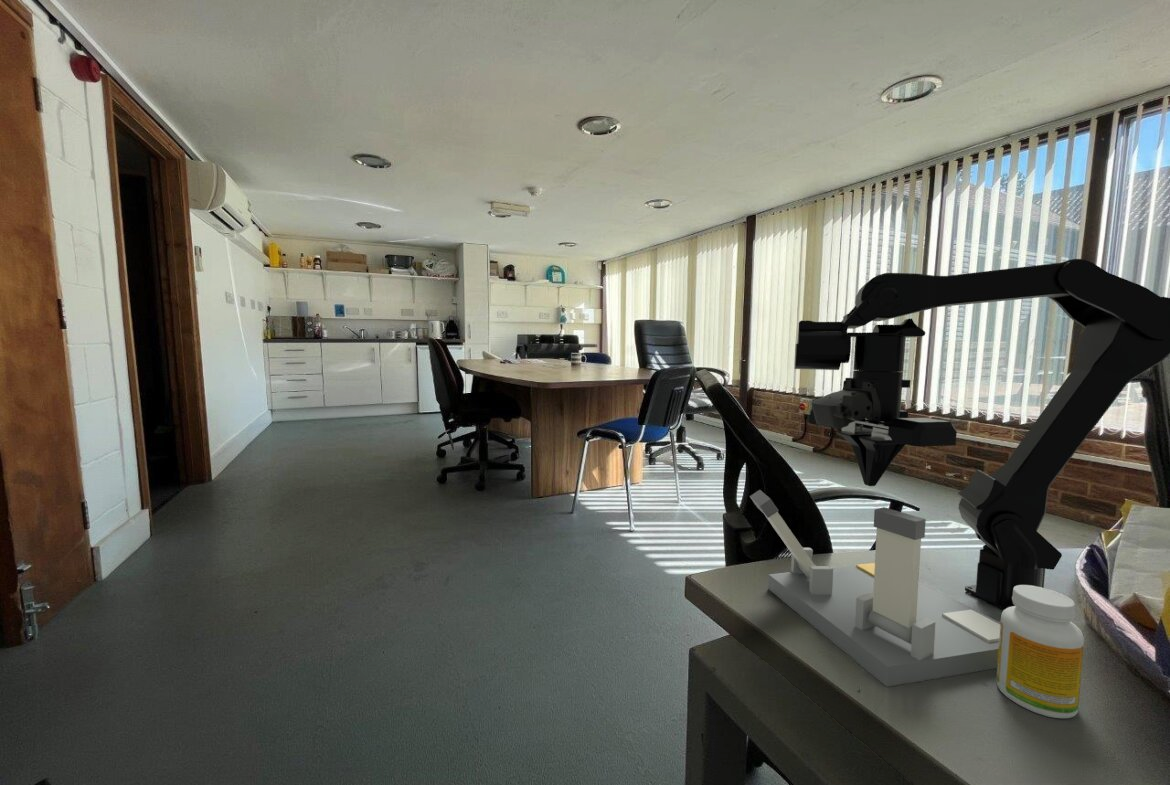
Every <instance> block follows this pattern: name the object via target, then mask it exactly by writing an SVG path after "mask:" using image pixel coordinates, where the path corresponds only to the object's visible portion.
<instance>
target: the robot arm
mask: <svg viewBox="0 0 1170 785" xmlns="http://www.w3.org/2000/svg"><path fill="white" fill-rule="evenodd" d="M1036 298H1037V299H1038V298H1049V299H1050V300H1051V301H1054V303H1056V304H1057V305H1058V307H1059V308H1060V309H1061V310H1062V311H1063V312H1064V313H1065V314H1066V315H1067V316H1068V318H1070V319H1071V320H1072V321H1073V322H1074V323H1077V324H1078V325H1079V326H1081V327H1083V328H1084V329H1083V331H1082V334H1081V336H1080V338H1079V340H1078V342H1077V349H1076V356H1075V357H1076V358H1075V365H1074V367H1073V369H1072V371H1071V372H1070V373H1069V375H1067V378H1065V379H1064V381H1063V383H1062V384H1061V386H1059V389H1058V390H1057V391H1056V393H1055V394H1054V395H1053V397H1052V398H1051V399H1050V401H1049V402H1048V403H1047V405H1046V406H1045V408H1044V409H1043V411H1042V412H1040V415H1039V416H1038V417H1037V419H1036V420H1035V422H1034V423H1033V424H1032V426H1031V427H1030V428H1029V429H1028V431H1027V433H1026V434H1025V435H1024V437H1023V438H1022V440H1021V441H1020V442H1019V444H1018V445H1017V446H1016V448H1015V449H1014V451H1013V452H1012V453H1011V455H1010V456H1009V458H1007V460H1006V462H1005V463H1004V464H1003V465H1002V466H1001V467H999V468H997V469H996V470H994V471H992V472H991V473H990V474H986V472H983V471H981V470H980V469H976V470H975V471H974V472H973V473H972V476H971V478H970V480H969V482H968V484H967V485H966V486H964V488H963V489H962V490H960V491H958V493H957V495H959V497H961V498H960V501H959V503H958V510H959V513H960V517H961V519H962V520H963V522H965V523H966V525H968V526H969V527H970V528H971V529H972V530H973V531H974V532H975V535H976V538H977V539H978V540H980V541H981V542H982V543H983V544H984V545H983V546H982V548H981V549H979V555H978V556H979V560H978V562H977V568H976V569H977V570H976V579H975V580H976V581H975V582H976V583H975V584H970V585H965V586H964V590H965V592H968V593H970V594H971V595H974V596H975V597H978V598H979V599H982V600H984V601H985V602H988V603H990V604H991V605H994V606H996V607H998V608H1000V609H1002V610H1003V611H1004V610H1005V609H1006V608H1008V607H1012V606H1015V605H1014V604H1013V601H1012V596H1013V588H1014V587H1015V586H1017V585H1031V586H1037V587H1042V588H1045V575H1046V570H1054V569H1055V568H1056V567H1057V564H1058V563H1059V562H1060V560H1061V558H1062V557H1063V554H1062V552H1061V551H1059V550H1058V549H1057V548H1056V547H1055V546H1053V544H1052V543H1051V542H1049V541H1048V540H1047V539H1046V538H1045V537H1044V536H1043V535H1041V533H1039V531H1038V530H1039V528H1040V525H1041V524H1042V522H1043V519H1044V517H1045V515H1046V512H1047V511H1046V510H1047V504H1048V495H1049V489H1050V487H1051V485H1052V484H1053V483H1054V481H1055V480H1056V479H1057V477H1058V476H1059V474H1060V473H1061V472H1062V470H1063V469H1064V467H1066V465H1067V464H1068V463H1069V461H1070V460H1071V458H1072V457H1073V456H1074V455H1075V453H1076V452H1077V451H1078V449H1079V448H1080V447H1081V446H1082V444H1083V443H1084V441H1085V440H1086V439H1087V438H1088V436H1089V435H1090V433H1091V432H1092V431H1093V430H1094V428H1095V427H1096V426H1097V424H1098V423H1099V422H1100V420H1101V419H1102V418H1103V416H1104V415H1105V414H1106V412H1107V411H1108V410H1109V409H1110V407H1111V406H1112V405H1113V404H1114V402H1115V400H1116V399H1117V398H1118V397H1119V395H1120V394H1121V393H1122V391H1124V389H1125V388H1126V386H1127V385H1128V383H1130V382H1131V381H1132V380H1134V379H1135V378H1137V377H1139V376H1141V375H1142V374H1144V373H1146V372H1147V371H1148V370H1151V369H1152V368H1153V367H1155V366H1157V365H1158V364H1160V363H1161V362H1163V361H1164V360H1166V358H1167V357H1169V356H1170V297H1166V296H1160V295H1158V294H1157V293H1155V292H1154V291H1152V290H1150V289H1149V288H1147V287H1145V286H1143V285H1141V284H1138V283H1135V282H1133V281H1132V280H1127V278H1123V277H1120V276H1118V275H1115V274H1113V273H1110V272H1108V271H1106V270H1105V269H1103V268H1102V267H1100V266H1098V265H1097V264H1095V263H1094V262H1092V261H1090V260H1087V259H1083V258H1072V259H1068V260H1065V261H1061V262H1056V263H1048V264H1047V263H1046V264H1039V265H1038V264H1037V265H1030V266H1028V265H1027V266H1021V267H1012V268H1003V269H994V270H987V271H986V270H985V271H977V272H969V273H961V274H954V275H953V274H951V275H933V274H932V275H931V274H924V273H923V274H922V273H913V272H912V273H911V272H910V273H909V272H908V273H906V272H904V273H903V272H885V273H881V274H878V275H875V276H874V277H872V278H871V279H870V280H869V281H867V282H866V283H865V284H864V285H862V286H861V287H860V289H858V292H857V293H856V295H855V301H854V302H855V306H854V307H853V308H852V309H851V310H850V311H849V312H848V313H847V314H845V315H843V317H842V320H841V321H814V320H799V322H798V329H797V341H796V344H795V347H794V348H795V350H794V351H795V352H794V353H795V354H794V369H795V370H816V371H817V370H820V371H824V370H826V371H839V370H840V368H841V364H849V362H850V358H851V351H852V338H855V340H854V352H853V353H854V355H853V367H852V368H853V369H852V370H853V371H852V377H845V379H844V380H843V384H842V389H841V390H837V391H834V392H831V393H829V394H826V395H824V396H822V397H819V398H817V399H814V400H812V401H811V402H810V404H811V407H812V409H811V410H810V414H809V416H810V417H809V423H810V424H812V425H813V424H814V425H816V426H817V425H818V426H822V427H823V426H829V427H830V428H832V429H841V430H838V431H837V430H836V433H837V435H839V436H841V437H842V438H843V439H845V440H846V442H848V443H849V444H850V446H851V448H852V450H853V453H854V454H855V458H856V461H857V462H856V463H857V465H858V468H859V471H860V476H861V477H862V481H863V484H864V486H868V487H875V486H877V484H878V482H879V481H880V480H881V478H882V476H883V475H884V473H885V472H886V470H887V469H888V468H889V466H890V465H891V464H892V462H893V460H894V459H895V458H896V457H897V455H899V453H900V452H901V451H902V449H903V448H904V447H905V446H906V445H907V446H911V447H945V446H948V447H949V446H956V444H957V434H958V433H957V428H956V427H955V425H954V424H953V423H952V422H951V421H948V420H943V419H935V418H931V417H930V418H929V417H909V411H908V410H903V409H901V406H902V394H903V389H904V388H905V389H906V388H908V389H909V388H911V381H912V380H911V379H904V365H905V353H906V352H905V351H906V338H920V337H925V335H926V331H925V330H924V329H922V328H921V327H919V326H918V325H917V324H916V323H915V321H914V319H913V318H907V319H904V321H902V322H901V323H900V324H875V325H874V326H873V329H872V332H871V331H869V332H848V330H849V329H850V330H851V329H854V330H855V329H858V328H860V327H864V326H866V325H867V324H869V323H871V322H883V321H887V320H888V321H889V320H891V319H896V318H899V317H904V316H908V315H911V314H916V313H919V312H924V311H928V310H932V309H936V308H942V307H954V306H962V305H963V306H964V305H972V304H973V305H974V304H985V303H994V302H1005V301H1015V300H1028V299H1036Z"/></svg>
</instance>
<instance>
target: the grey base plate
mask: <svg viewBox="0 0 1170 785" xmlns="http://www.w3.org/2000/svg"><path fill="white" fill-rule="evenodd" d="M802 548H803V549H804V550H805V552H806V553H807V555H808V556H809V558H810V559H811V560H812V561H813V553H814V550H813V549H812V548H811V547H802ZM797 563H798V562H797V560H796V559H795V558H794V556H793V555H792V554H791V564H790V565H791V566H790V567H791V568H790V571H789V572H788V571H787V572H779V573H771V574H770V573H769V574H768V590H769V591H770V592H771V593H773V595H775V596H776V597H778V599H780V600H781V602H784V603H785V604H786V605H787V606H788V607H789V608H791V609H792V610H793V611H795V612H796V613H797V614H798V615H800V617H801V618H803V619H804V620H806V622H808V624H810V625H811V626H813V628H815V629H816V630H818V631H819V633H821V634H822V635H824V637H826V638H827V639H828V640H830V642H832V643H833V644H834V645H835V646H836V647H838V648H839V650H841V651H842V652H843V653H845V654H846V655H848V656H849V657H850V658H851V659H852V660H853V661H855V663H857V664H859V666H861V667H862V668H863V669H864V670H866V671H867V672H868V673H869V674H870V675H872V676H873V677H874V678H875V679H876V680H877V681H879V682H880V683H881V684H882V685H884V686H885V687H887V688H888V687H893V686H900V685H905V684H906V685H907V684H911V683H916V682H924V681H929V680H934V679H939V678H941V679H942V678H945V677H947V678H948V677H951V676H959V675H964V674H965V675H966V674H971V673H974V672H981V671H989V670H994V669H997V662H998V650H999V637H1000V622H1001V621H999V620H996V619H994V618H992V617H991V616H988V615H986V614H984V613H983V612H982V611H979V610H977V609H975V608H973V607H971V606H969V605H967V604H966V603H964V602H961V601H960V600H958V599H956V598H954V597H952V596H950V595H948V594H946V593H945V592H943V591H942V590H938V589H936V588H935V587H933V586H931V585H929V584H928V583H925V582H924V581H921V580H920V579H919V583H918V600H917V617H916V623H914V624H912V640H911V644H909V643H907V642H905V641H903V640H902V639H900V638H898V637H896V636H894V635H892V634H890V633H888V632H886V631H884V630H882V629H880V628H878V627H876V626H874V625H872V624H870V623H869V619H868V617H869V613H870V611H871V610H872V609H873V591H874V571H875V562H871V563H862V564H861V563H860V564H855V565H854V564H853V565H844V566H835V567H834V566H833V567H832V566H828V565H826V566H825V565H824V566H823V565H816V566H810V579H809V578H808V577H807V576H806V575H805V574H804V573H803V572H802V571H801V570H800V569H799V567H798V565H797Z"/></svg>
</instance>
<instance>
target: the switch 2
mask: <svg viewBox="0 0 1170 785" xmlns="http://www.w3.org/2000/svg"><path fill="white" fill-rule="evenodd" d="M873 511H874V513H873V514H874V515H873V527H874V528H875V529H876V535H875V554H874V555H875V556H874V557H875V558H874V563H875V571H874V591H873V609H872V610H871V611H870V613H869V617H868V619H869V623H870V624H872V625H874V626H876V627H878V628H880V629H882V630H884V631H886V632H888V633H890V634H892V635H894V636H896V637H898V638H900V639H902V640H903V641H905V642H907V643H909V644H911V640H912V624H914V623H916V617H917V600H918V583H919V580H920V578H919V577H920V563H921V561H920V560H921V546H922V539H923V538H925V537H926V534H925V533H926V521H927V520H926V518H924V517H923V518H922V517H919V516H915V515H913V514H908V513H906V512H902V511H899V510H894V509H891V508H887V507H880V508H879V507H878V508H876V509H874V510H873Z"/></svg>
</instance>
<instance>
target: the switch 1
mask: <svg viewBox="0 0 1170 785" xmlns="http://www.w3.org/2000/svg"><path fill="white" fill-rule="evenodd" d="M749 498H750V499H751V500H752V502H753V504H754V506H756V508H757V509H758V510H759V511H760V512H761V513H762V514H763V515H764V516H765V518H766V519H767V521H768V522H769V523H770V525H771V526H772V528H773V529H774V531H775V532H776V533H777V535H778V536H779V537H780V539H781V540H782V542H783V543H784V545H785V546H786V547H787V549H788V550H789V553H790V554H791V556H792V555H793V556H794V558H795V559H796V560H797V562H798V563H797V565H798V567H799V569H800V570H801V571H802V572H803V573H804V574H805V575H806V576H807V577H808V578H809V579H810V566H817V565H816V564H815V563H814V562H813V559H812V560H811V559H810V558H809V556H808V555H807V553H806V552H805V550H804V549H803V548H804V547H803V546H802V545H801V543H800V542H799V541H798V539H797V538H796V536H795V535H794V533H793V532H792V530H791V529H790V527H789V526H788V525H787V523H786V521H785V520H784V519H783V517H782V516H781V515H780V513H779V509H778V507H777V505H775V503H774V501H773V500H772V498H770V497H769V496H768V495H766V493H764V492H763V491H762V490H761V489H759V490H757V491H755V492H754V493H753V494H751V495H749Z"/></svg>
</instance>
